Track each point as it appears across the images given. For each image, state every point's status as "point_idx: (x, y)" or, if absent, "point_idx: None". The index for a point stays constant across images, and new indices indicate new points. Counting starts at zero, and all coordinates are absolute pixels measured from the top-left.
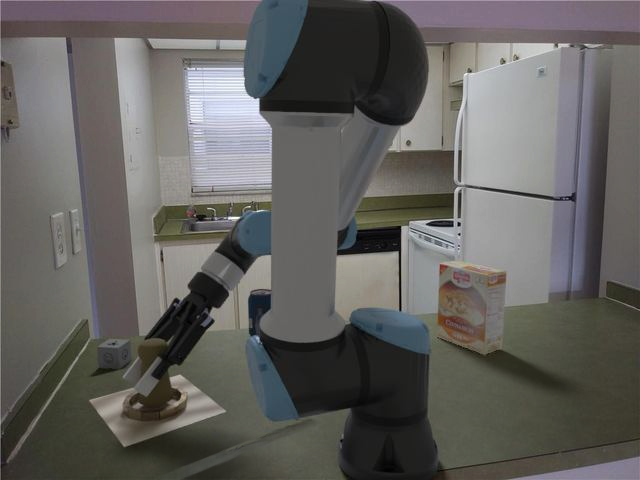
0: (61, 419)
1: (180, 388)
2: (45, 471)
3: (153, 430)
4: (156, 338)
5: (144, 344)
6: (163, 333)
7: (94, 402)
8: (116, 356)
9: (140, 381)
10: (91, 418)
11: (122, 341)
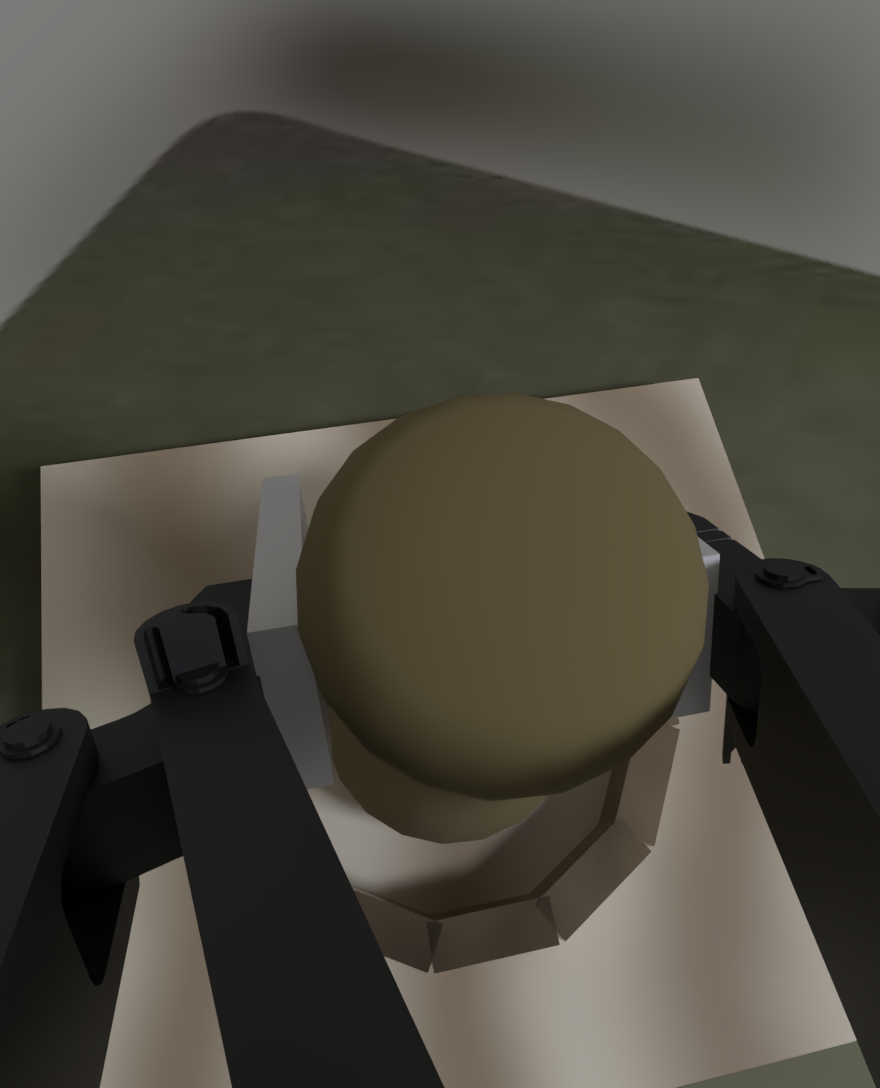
0: (587, 281)
1: (530, 931)
2: (138, 205)
3: (116, 637)
4: (624, 623)
5: (449, 427)
6: (820, 778)
7: (656, 399)
8: None
9: (274, 502)
10: (533, 394)
11: None
